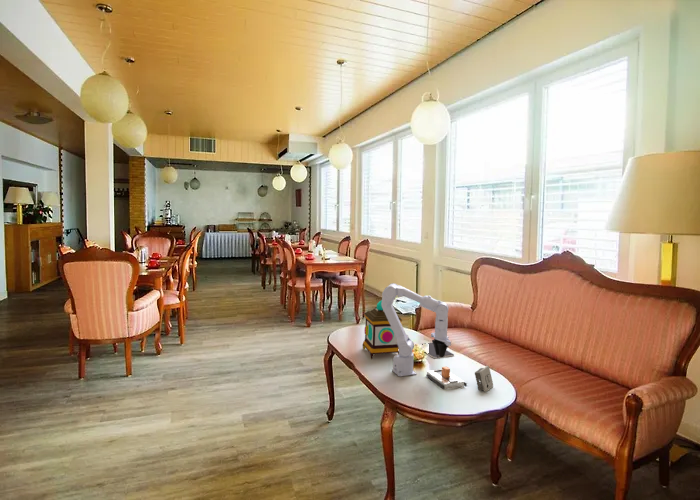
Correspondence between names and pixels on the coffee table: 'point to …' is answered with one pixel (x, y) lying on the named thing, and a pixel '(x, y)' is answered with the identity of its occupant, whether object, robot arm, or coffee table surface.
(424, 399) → the coffee table surface
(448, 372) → the block
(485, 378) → the electrical switch
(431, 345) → the notebook
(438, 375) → the breaker panel
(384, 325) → the decorative lantern
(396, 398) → the coffee table surface
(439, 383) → the cord left
